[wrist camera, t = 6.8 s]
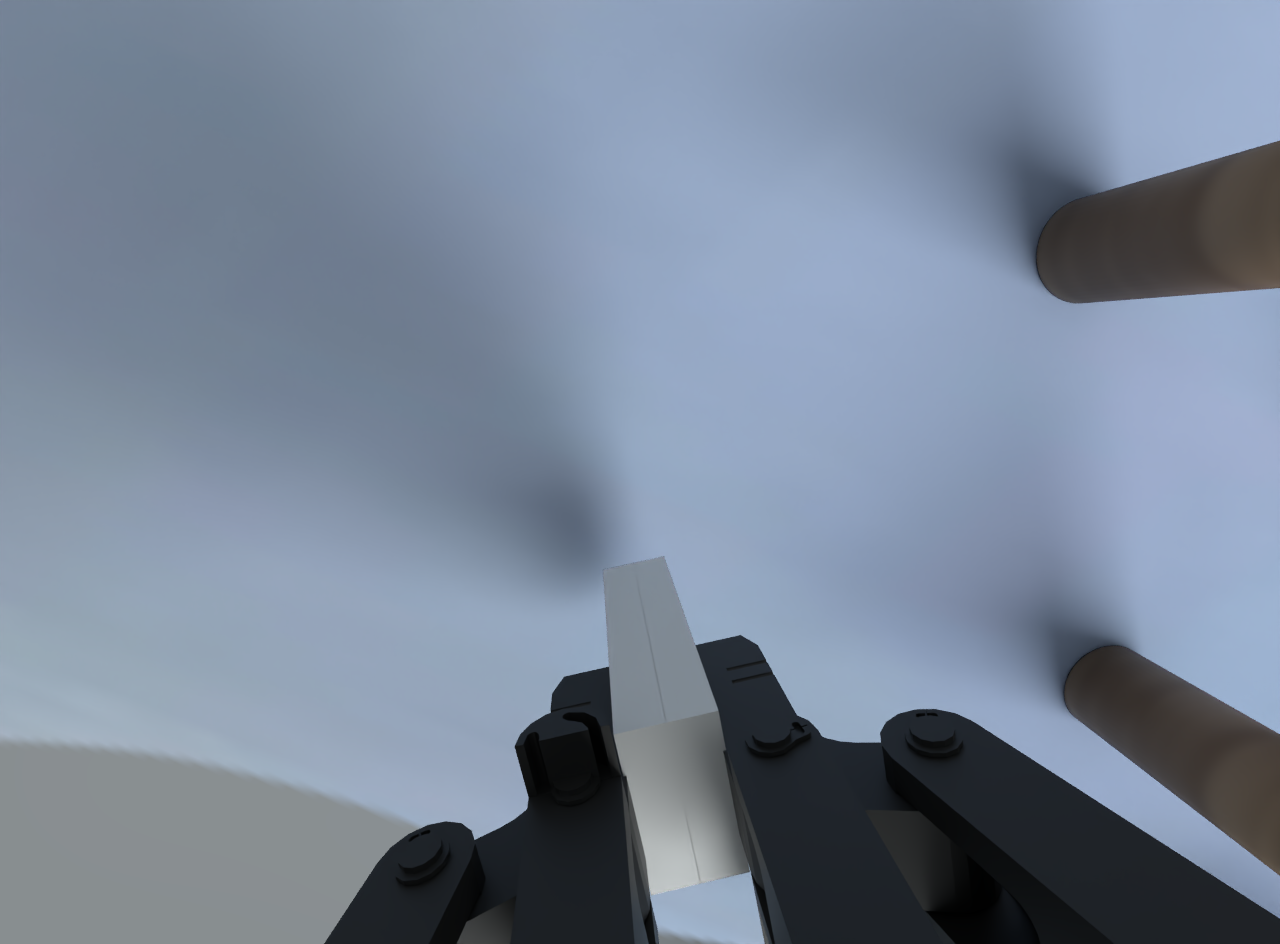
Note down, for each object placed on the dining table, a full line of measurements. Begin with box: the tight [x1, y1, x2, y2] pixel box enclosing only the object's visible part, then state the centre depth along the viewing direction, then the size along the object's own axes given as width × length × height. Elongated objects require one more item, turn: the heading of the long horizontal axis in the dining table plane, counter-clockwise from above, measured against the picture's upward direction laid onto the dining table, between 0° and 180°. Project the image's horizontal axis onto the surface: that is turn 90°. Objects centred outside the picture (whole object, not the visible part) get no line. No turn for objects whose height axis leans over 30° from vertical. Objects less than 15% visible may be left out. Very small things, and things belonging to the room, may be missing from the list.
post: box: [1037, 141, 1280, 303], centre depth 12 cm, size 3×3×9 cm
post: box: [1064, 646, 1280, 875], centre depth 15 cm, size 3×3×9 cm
